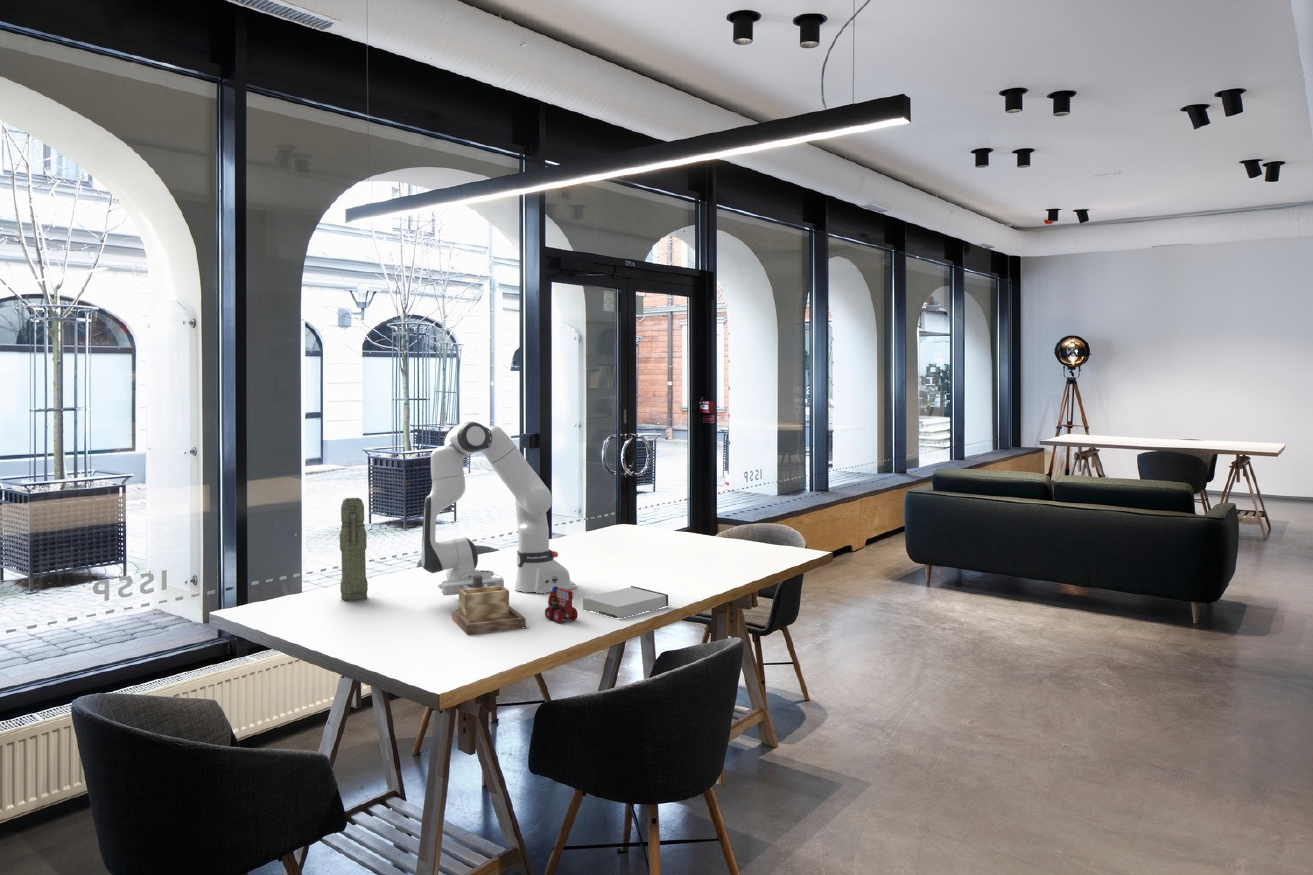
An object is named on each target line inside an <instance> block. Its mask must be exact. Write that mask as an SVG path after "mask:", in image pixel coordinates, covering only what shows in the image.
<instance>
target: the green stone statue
mask: <svg viewBox="0 0 1313 875" xmlns="http://www.w3.org/2000/svg"><path fill="white" fill-rule="evenodd" d="M341 503H342V504H341V506H340V520H341V525H340V527H341V529H340V531H339V549H340V551H341V552H340V553H341V579H340V584H339V585H340V586H339V587H340V588H339V590H340V594H341V595H340V596H341V597H340V600H341V599H342V600H344V601H343V602H360V601H364V600H366V598H367V599H368V591H369V588H368V587H369V586H368V579H367V577H366V576H367V573H366V571H367V569H366V549H367V547H368V545H367V544H368V543H367V542H368V541H367V539H368V538H367V530H366V528H365V506H364V502H363V499H362V498H359V497H348V498H347V497H346V498H345V499H343V500H342V502H341ZM342 600H341V601H342Z"/></svg>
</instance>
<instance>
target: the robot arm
mask: <svg viewBox="0 0 1313 875" xmlns="http://www.w3.org/2000/svg"><path fill="white" fill-rule="evenodd" d="M477 452H479V453H481V454H482V455H483V456H485V458H486V459H487V461H488V463H489V464H490V465H491V466H492V468H493V469H494V471H495V472H496V474H497V475H498V476H499V478H500V479H501V481H502V482H503V483H504V484H505V486H506V487H507V488H508V489H509V491H510V492H511V494H512V495H513V496H514V499H515V511H516V512H515V513H516V523H517V531H518V532H517V533H518V534H517V537H518V538H517V539H518V540H517V541H518V547H517V548H518V549H517V551H516V564H517V573H516V581H515V584H514V588H513V589H514V590H515V591H516V590H517V591H516V592H519V591H522V592H521V593H527V592H536V593H535V594H538V593H544V594H547V593H546V592H551V591H552V588H553V587H554V586H557V587H558V588H562V589H566V590H569V591H570V590H573V589H576V588H577V583H576V582H574V581H572V580H571V576H570V572H569V570H568V569H567V568H566V567H564V566H563V565H561V563H559V562H558V561H556V559H555V558H558V557H559V553H558V552H557V551H553V550H552V549H550V535H549V534H550V530H549V529H550V528H549V523H548V518H547V517H548V516H547V512H548V511H549V510H550V508H551V507H552V504H553V496H552V493H551V491H550V489H549V488H548V486H546V485H545V483H544V482H543V480H542V479H541V477H540V476H539V475H538V474H537V472H536V471H535V470H534V468H532V466H531V465H530V463H529V462H528V461H527V460H526V459H525V457H524V456H523V454H522V452H521V451H520V450H519V449H518V447H517V445H516V444H515V443H514V441H513V440H512V439H511V437H510V436H509V435H508V434H507V433H506V432H505V431H504V430H503V429H502V428H501V427H500V426H498V425H490V426H487V427H486V426H485V425H482V423H479V422H475V421H468V422H464V423H460V424H458V425H456V426H455V427H452V428H450V429H449V430H448V431H447V432H446V433H445V436H444V438H443V440H442V443H441V446H439V447H436V448H435V449H433V451H432V452H431V455H430V476H431V489H430V490H431V491H430V493H429V494H428V495H427V496H425V499H424V504H423V510H422V511H423V512H422V515H423V516H422V534H421V535H422V539H421V540H422V541H421V542H422V543H421V549H420V550H421V551H420V564H421V567H422V569H424V570H425V571H426V572H428V573H431V574H435V573H438V572H443V571H446V580H443V581H442V582H441V584H440V583H439V584H438V585H437V587H438V588H439V589H440V590H441V594H442V595H443V596H455V595H459V590H461V589H471V588H473V576H475V575H481V576H482V587H491V586H501V585H502V586H503V587H505V581H504V578H503V577H502V576H500V575H498V574H495V573H494V571H492V570H479V569H476V568H477V566H478V563H479V562H478V561H479V557H478V550H477V547H476V545H475V543H474V542H473V541H472V540H470V538H468V537H466V536H465V537H459V538H455V539H454V538H453V539H449V540H445V541H439V542H438V541H436V532H437V530H436V528H437V518H438V516H439V514H440V512H442V511H443V510H445V509H447V508H448V507H450V506H451V505H453V504H455V503H457V502H458V501H459V500H460V499H461V498H462V497H463V496H464V494H465V491H466V478H465V471H464V467H463V466H464V460H465V458H466V456H470V455H473V454H474V453H477Z"/></svg>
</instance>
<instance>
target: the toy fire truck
mask: <svg viewBox="0 0 1313 875" xmlns="http://www.w3.org/2000/svg"><path fill="white" fill-rule="evenodd" d="M573 599H574V595H573V591H572V590H570V589H569V590H566V589H562V588H558V587H557V586H554V587H553V588H552V591H551V592H550V593H549V597H548V600H547V607H546V608H545V610H544V615H545V619H547V618H548V619H552V620H553V621H554V623H556V622H557V623H556V624H561V623H563V622H564V620H567V619H568V620H570V619H572V620H571V621H576V620H577V619H578V616H579V615H578V614H579V613H578V610H577V609H576V607H574V606H573ZM548 619H547V620H548ZM575 619H576V620H575Z"/></svg>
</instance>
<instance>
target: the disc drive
mask: <svg viewBox="0 0 1313 875" xmlns="http://www.w3.org/2000/svg"><path fill="white" fill-rule="evenodd" d="M665 606H668V607H669V594H668V593H667V594H666V593H663V592H659V591H655V590H650V589H646V588H642V587H637V586H633V585H631V586H629V587H625V588H621V589H616V590H612V591H607V592H603V593H598V594H594V595H590V596H584V597H582V611H584V610H586V611H585V612H588V611H593V612H596V613H599V614H602V615H606V616H609V617H608V618H610V617H613V618H623V619H625V618H624V617H627V618H629V617H628V616H632V615H636V614H639V613H642V612H646V611H652V612H654V611H653V610H656V609H659V608H662V607H665ZM656 611H657V610H656ZM599 614H598V615H599ZM602 615H601V616H602ZM606 616H605V617H606ZM636 616H637V615H636ZM632 617H633V616H632ZM613 618H612V619H613Z"/></svg>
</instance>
